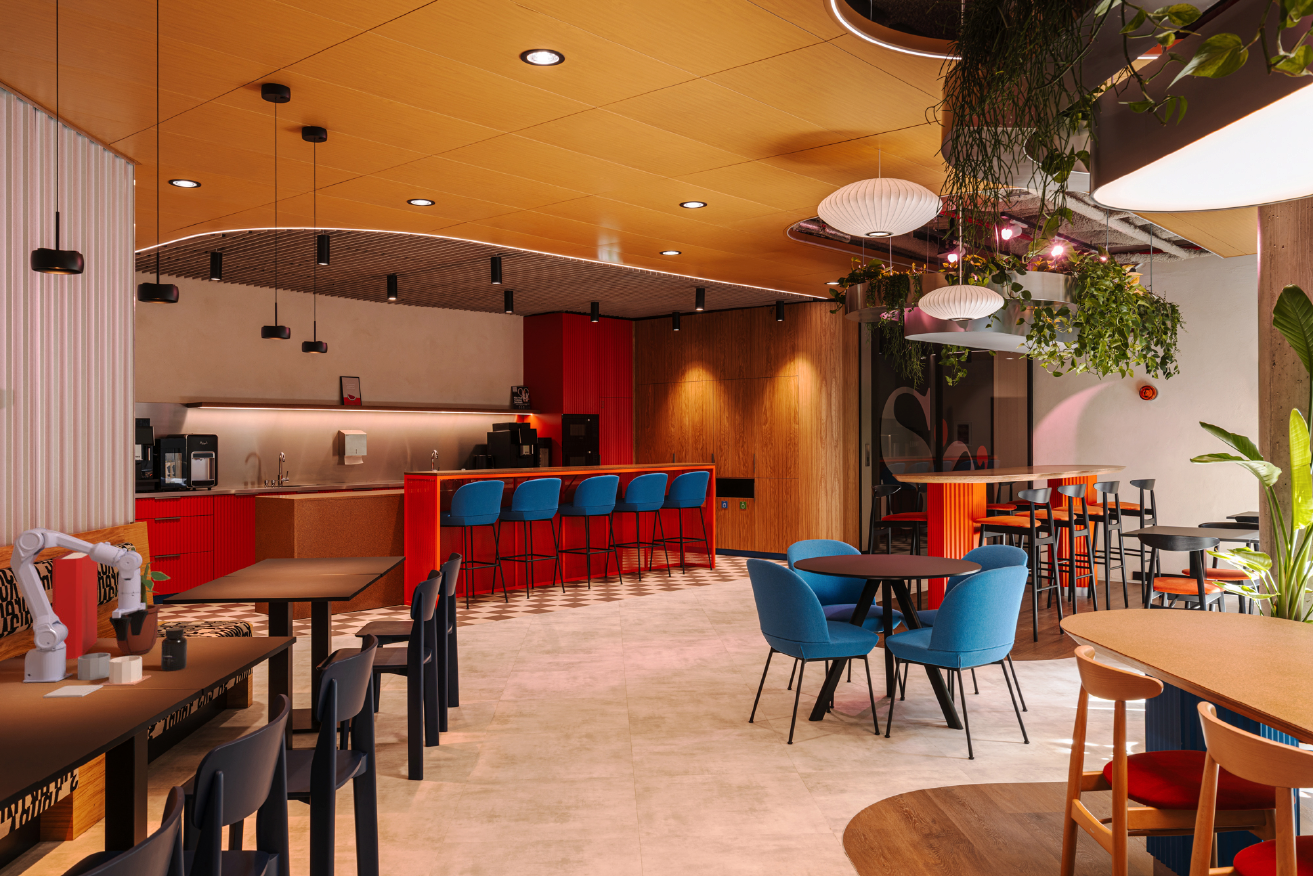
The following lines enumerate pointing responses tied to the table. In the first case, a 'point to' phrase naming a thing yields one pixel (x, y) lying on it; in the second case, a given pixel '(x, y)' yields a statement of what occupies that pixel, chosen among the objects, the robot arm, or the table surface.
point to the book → (76, 600)
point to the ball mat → (73, 691)
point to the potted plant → (150, 625)
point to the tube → (125, 671)
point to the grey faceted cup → (93, 666)
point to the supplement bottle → (174, 650)
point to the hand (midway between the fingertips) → (129, 638)
